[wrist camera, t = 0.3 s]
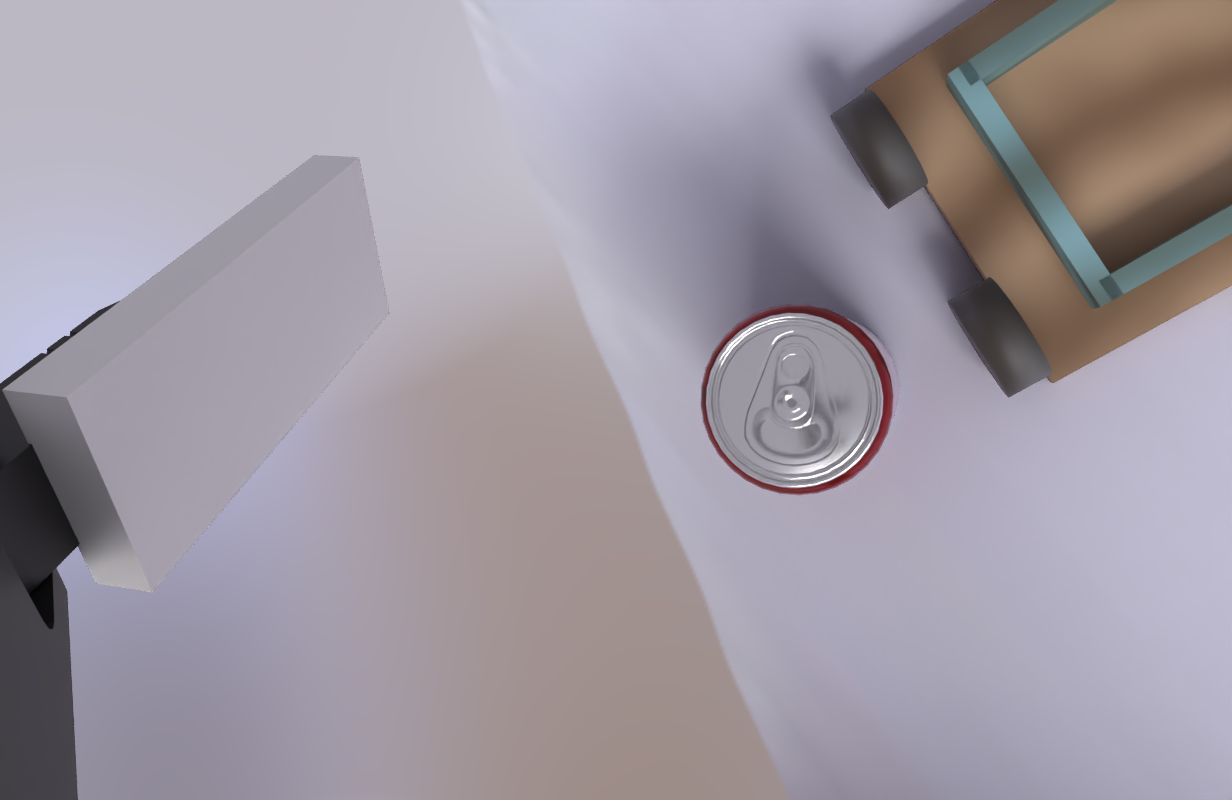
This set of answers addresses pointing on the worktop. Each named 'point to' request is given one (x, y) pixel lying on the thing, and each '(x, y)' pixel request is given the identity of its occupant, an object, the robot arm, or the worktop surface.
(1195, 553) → the worktop surface
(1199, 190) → the chassis
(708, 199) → the worktop surface
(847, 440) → the soda can
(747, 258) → the worktop surface
